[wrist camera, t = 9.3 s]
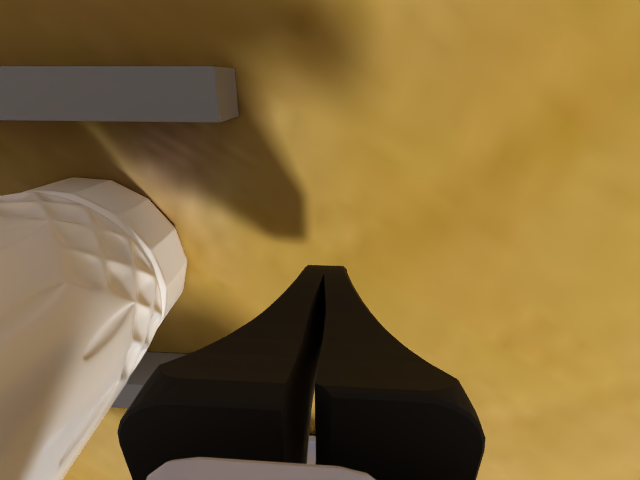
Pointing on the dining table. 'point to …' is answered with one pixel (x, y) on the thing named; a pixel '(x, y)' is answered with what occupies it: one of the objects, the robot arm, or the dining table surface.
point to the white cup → (75, 313)
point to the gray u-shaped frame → (120, 117)
